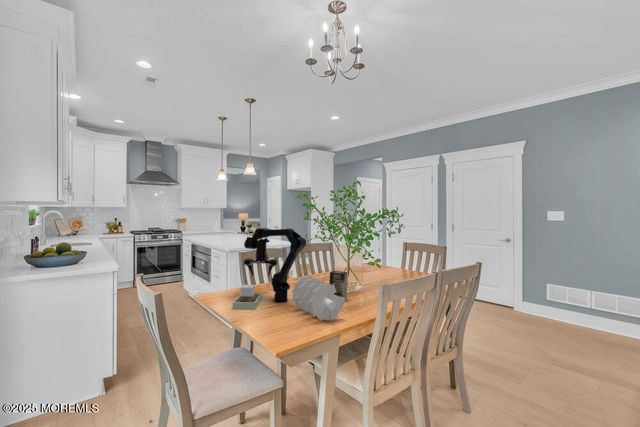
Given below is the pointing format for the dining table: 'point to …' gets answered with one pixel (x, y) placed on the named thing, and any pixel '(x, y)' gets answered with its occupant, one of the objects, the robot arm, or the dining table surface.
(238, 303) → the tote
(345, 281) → the coffee box
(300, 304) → the spiral staircase
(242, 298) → the walnut block
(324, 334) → the dining table surface
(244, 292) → the gray block
